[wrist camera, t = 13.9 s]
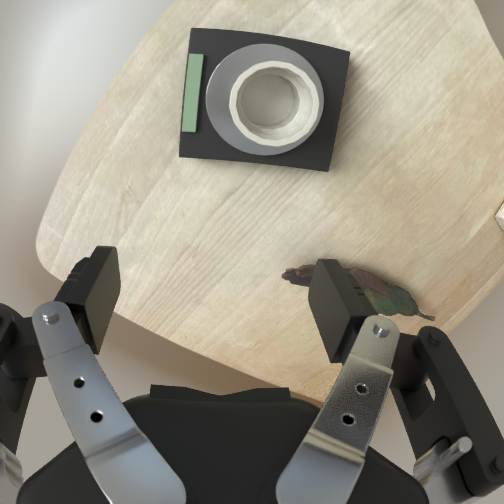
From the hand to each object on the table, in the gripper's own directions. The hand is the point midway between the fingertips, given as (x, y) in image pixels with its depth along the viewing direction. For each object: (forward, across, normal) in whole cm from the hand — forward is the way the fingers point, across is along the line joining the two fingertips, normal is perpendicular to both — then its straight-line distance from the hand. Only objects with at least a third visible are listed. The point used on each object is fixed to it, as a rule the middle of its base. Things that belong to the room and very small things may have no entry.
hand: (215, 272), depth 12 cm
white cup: (+16, -4, -6) cm, 18 cm away
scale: (+20, -4, -6) cm, 21 cm away
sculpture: (+20, -22, +15) cm, 33 cm away
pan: (+17, -3, -6) cm, 19 cm away
